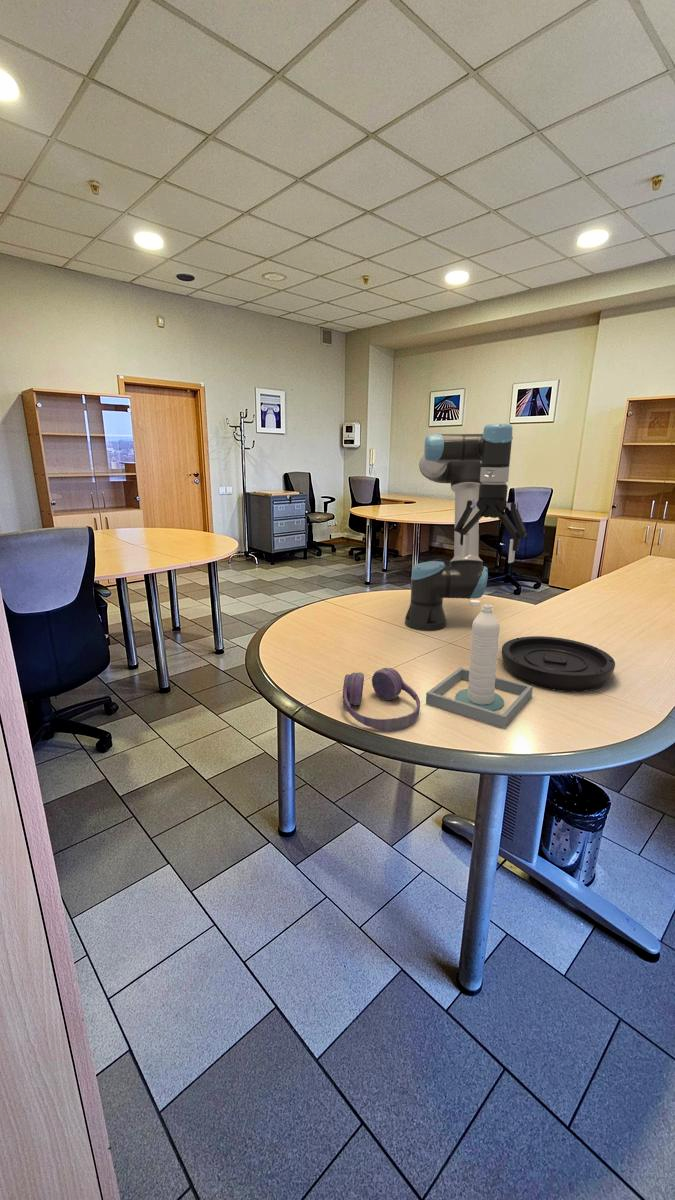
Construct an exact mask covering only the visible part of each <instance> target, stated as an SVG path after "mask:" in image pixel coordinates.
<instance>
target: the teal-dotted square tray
mask: <svg viewBox="0 0 675 1200" xmlns="http://www.w3.org/2000/svg"><path fill="white" fill-rule="evenodd" d="M461 680H463V681H466V682H469V668H463V667H459V668H457V669H456V670H454V671H453V672H452V673H451V674H449V676H448V675H447V676H446V677H445V679H443V680H442V681H440V682H439V683H438V684H436V685H435V686H434V687H432V688H431V689H430V690H428V691H427V692H426V693H425V694H426V697H425V704H426V705H429V706H431V707H435V708H438V709H441V710H444V711H448V712H451V713H453V714H456V715H460V716H463V717H466V718H469V719H472V720H476V721H479V722H481V723H485V724H488V725H491V726H494V727H497V728H499V729H506V727H507V726H508V725H509V724H510V723H511V721H513V719H514V718H515V717H516V716H517V714H519V712H520V711H521V710H522V709H523V707H525V705H526V704H527V703H528V702H529V701H530V699H532V696H533V686H534V685H530V684H526V683H525V684H524V683H522V682H518V681H513V680H510V679H507V678H502V677H498V676H496V677H495V690H498V691H503V692H505V693H510V694H513V695H516V694H517V698H516V699H515V700H514V701H513V702H512V703H511V704H510V705H509V706H508V707H507V709H506V710H505V711H504V712H503V713H501V712H496V711H491V710H488V709H484V708H481V707H478V706H474V705H471V704H468V703H465V702H461V701H458V700H456V698H455V699H454V698H451V697H448V696H445V695H444V694H445V693H446V692H447V691H449V690H450V689H452V688H453V686H455V685H456V684H457V683H458V682H460V681H461Z"/></svg>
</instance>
